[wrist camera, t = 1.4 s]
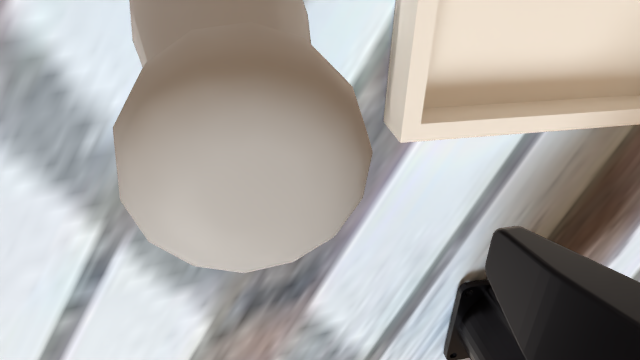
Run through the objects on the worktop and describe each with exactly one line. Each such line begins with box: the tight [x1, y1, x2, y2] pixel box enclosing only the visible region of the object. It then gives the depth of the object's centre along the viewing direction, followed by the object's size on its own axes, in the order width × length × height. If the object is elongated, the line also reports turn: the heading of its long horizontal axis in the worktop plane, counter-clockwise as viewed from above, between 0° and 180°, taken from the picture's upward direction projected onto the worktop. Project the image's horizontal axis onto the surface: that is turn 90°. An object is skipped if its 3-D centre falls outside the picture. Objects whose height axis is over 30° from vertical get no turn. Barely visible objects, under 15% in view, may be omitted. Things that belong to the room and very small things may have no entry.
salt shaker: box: [113, 0, 372, 273], centre depth 13 cm, size 6×6×13 cm
